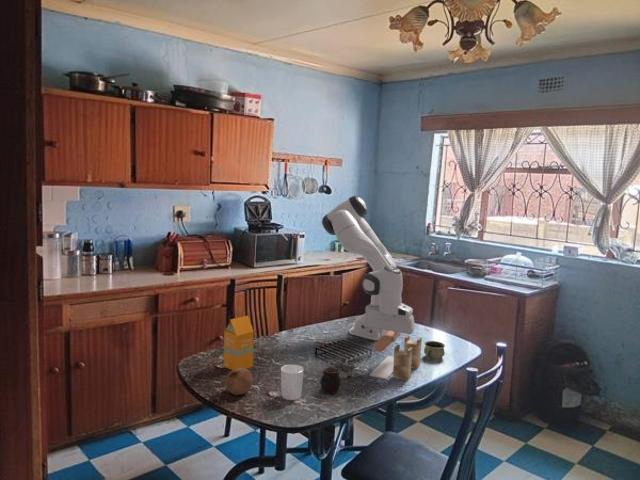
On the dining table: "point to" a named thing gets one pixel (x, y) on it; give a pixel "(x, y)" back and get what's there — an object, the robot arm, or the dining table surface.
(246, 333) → the orange juice
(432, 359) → the vessel
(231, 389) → the onion
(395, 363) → the post near
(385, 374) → the mat
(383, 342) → the rail
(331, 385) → the mate gourd
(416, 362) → the post far
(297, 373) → the white cup
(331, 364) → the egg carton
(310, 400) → the dining table surface
